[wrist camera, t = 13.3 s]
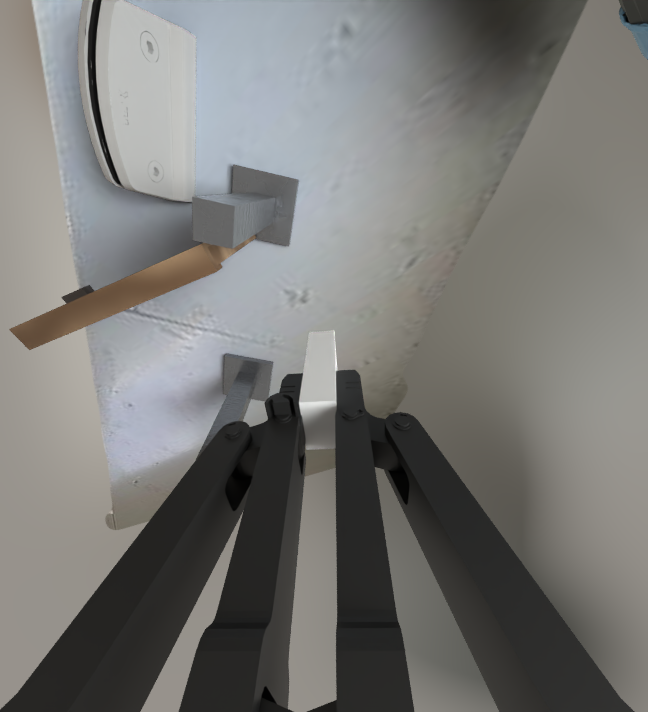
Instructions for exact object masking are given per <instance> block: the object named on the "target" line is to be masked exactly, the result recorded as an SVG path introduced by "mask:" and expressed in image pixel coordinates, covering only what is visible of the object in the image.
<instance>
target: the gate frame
mask: <svg viewBox="0 0 648 712" xmlns="http://www.w3.org/2000/svg"><path fill="white" fill-rule="evenodd" d="M298 183H299V180H297V179H292V178H288V177H284V176H280V175H275V174H271V173H267V172H263V171H259V170H254V169H250V168H246V167H242V166H237V165H233V182H232V194H220V195H206V196H192V224H193V241H198V242H202V243H207V244H212V245H217V246H221V247H226V248H231V249H233V248H235V247H236V246H238V245H239V244H241V243H242V242H244V241H246V240H247V239H249V238H250V237H252V236H253V235H255V236H256V238H255V239H257V240H262V241H267V242H271V243H276V244H281V245H285V246H289V245H290V240H291V233H292V226H293V218H294V211H295V204H296V197H297V190H298ZM272 368H273V362H271V361H266V360H260V359H254V358H249V357H243V356H238V355H232V354H226V355H225V362H224V384H223V394H225V395H227V397H226V399H225V401H224V403H223V405H222V407H221V409H220V411H219V413H218V415H217V417H216V419H215V421H214V424H213V426H212V428H211V430H210V432H209V434H208V436H207V438H206V440H205V442H204V444H203V446H202V448H201V450H200V452H199V454H198V456H197V458H198V457H199V456H200V455H201V453H202V452H203V451H204V449H205V448H206V447H207V445H208V444H209V443H210V442H211V440H212V439H213V438H214V436H215V435H216V434H217V432H218V431H219V430H220V429H221V428H222V427H223V426H225V425H226V424H228V423H231V422H234V421H242V422H243V419H244V416H245V414H246V411H247V408H248V406H249V403H250V400H251V399H255V400H261V401H266V400H267V399H268V397H269V390H270V382H271V375H272ZM197 458H196V460H197Z"/></svg>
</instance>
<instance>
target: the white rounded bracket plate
mask: <svg viewBox="0 0 648 712" xmlns="http://www.w3.org/2000/svg"><path fill="white" fill-rule="evenodd" d="M78 72H79V83H80V92H81V98H82V104H83V110H84V114H85V119H86V123H87V127H88V131H89V135H90V138H91V141H92V144H93V148H94V151H95V153H96V156H97V159H98V161H99V164H100V166H101V169H102V171H103V173H104V175H105V177H106V179H107V180H108V181H109V182H111V183H113V184H114V185H116V186H117V187H120V188H123V189H127V190H130V191H134V192H138V193H142V194H146V195H150V196H154V197H158V198H162V199H166V200H171V201H181V202H192V196H195V158H196V37H195V36H194V35H193V34H191V33H190V32H188V31H187V30H186V29H184V28H181V27H179V26H177V25H175V24H173V23H171V22H169V21H167V20H165V19H162V18H160V17H158V16H156V15H154V14H152V13H150V12H148V11H146V10H143V9H141V8H139V7H137V6H135V5H133V4H131V3H129V2H127V1H125V0H83V2H82V8H81V13H80V21H79V31H78Z"/></svg>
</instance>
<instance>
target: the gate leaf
mask: <svg viewBox="0 0 648 712" xmlns="http://www.w3.org/2000/svg"><path fill="white" fill-rule="evenodd" d="M255 238H256V236H255V235H253V236H252V237H250V238H249V239H247V240H246V241H244V242H242V243H241V244H239V245H238V246H236V247H235V248H233V249H231V248H226V247H221V246H217V245H212V244H207V243H202V244H200V245H198V246H196V247H193V248H191V249H189V250H187V251H184V252H182V253H180V254H177V255H175V256H173V257H171V258H168V259H166V260H164V261H162V262H159V263H157V264H155V265H153V266H150V267H148V268H146V269H144V270H141V271H139V272H137V273H135V274H132V275H130V276H128V277H126V278H123V279H121V280H119V281H117V282H114V283H112V284H110V285H108V286H105V287H103V288H101V289H99V290H96V291H94V290H93V289H92V287H91V286H90V285H88V286H86V287H83V288H81V289H79V290H77V291H74V292H73V293H70V294H68V295H65V296H63V297H62V299H63V300H64V301H65V302H66V303H67V304H65V305H63V306H61V307H58V308H56V309H54V310H51V311H49V312H47V313H45V314H42V315H40V316H38V317H36V318H34V319H31V320H29V321H27V322H25V323H23V324H20V325H18V326H16V327H13V328H11V329H10V331H11V332H12V333H13V334H14V335H15V336H16V337H17V338H18V339H19V340H20V341H21V342H22V343H23V344H24V345H25V346H26V347H27V348H28V349H29V350H31V349H33V348H36V347H38V346H40V345H43V344H45V343H48V342H50V341H52V340H55V339H57V338H59V337H62V336H64V335H67V334H69V333H71V332H74V331H76V330H78V329H81V328H83V327H86V326H88V325H91V324H93V323H95V322H98V321H100V320H102V319H105V318H107V317H110V316H112V315H114V314H117V313H119V312H122V311H124V310H126V309H129V308H131V307H134V306H136V305H138V304H141V303H143V302H145V301H148V300H150V299H153V298H155V297H157V296H160V295H162V294H165V293H167V292H169V291H172V290H174V289H177V288H179V287H181V286H184V285H186V284H188V283H191V282H193V281H196V280H198V279H200V278H203V277H205V276H208V275H210V274H212V273H215V272H217V271H218V270H220V269H221V268H222V265H221V264H220V263H221V262H222V261H224V260H225V259H227V258H228V257H230V256H231V255H232V254H234V253H235V252H237V251H238V250H239V249H241V248H242V247H244V246H245V245H247V244H248V243H249V242H251V241H252V240H254V239H255Z"/></svg>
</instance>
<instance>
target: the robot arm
mask: <svg viewBox="0 0 648 712" xmlns="http://www.w3.org/2000/svg"><path fill="white" fill-rule="evenodd" d="M619 2H620V5H621V8H620V10H619V15H620V19H621V22H622V24H623V25H624V26H626V27H627V28H628V29H629V30H630V31H632V34H633V36H634V38H635V40H636V42H637V44H638V46H639V49H640V51H641V53H642V54H643V56H644V57H645V58H646V59H647V60H648V0H619ZM265 407H266V412H267V416H268V421H266V422H264V423H262V424H259V425H256V426H252V427H249V425H248V424H247V423H245V422H242V421H234V422H231V423H228V424H226V425H225V426H223V427H222V428H221V429H220V430H219V431H218V432H217V434H216V435H215V436H214V438H213V439H212V440H211V442H210V443H209V444H208V445H207V447H206V448H205V449H204V451H203V452H202V453H201V455H200V456H199V457H198V458H197V460H196V461H195V462H194V464H193V465H192V466H191V468H190V469H189V470H188V472H187V473H186V474H185V475H184V477H183V478H182V479H181V481H180V482H179V483H178V485H177V486H176V487H175V488H174V490H173V491H172V492H171V494H170V495H169V496H168V498H167V499H166V500H165V501H164V503H163V504H162V505H161V507H160V508H159V509H158V511H157V512H156V513H155V514H154V516H153V517H152V518H151V520H150V521H149V522H148V524H147V525H146V526H145V528H144V529H143V530H142V531H141V533H140V534H139V535H138V537H137V538H136V539H135V541H134V542H133V543H132V544H131V546H130V547H129V548H128V550H127V551H126V552H125V554H124V555H123V556H122V558H121V559H120V560H119V561H118V563H117V564H116V565H115V567H114V568H113V569H112V570H111V572H110V573H109V575H108V576H107V577H106V578H105V580H104V581H103V582H102V584H101V585H100V586H99V587H98V589H97V590H96V591H95V593H94V594H93V595H92V597H91V598H90V599H89V600H88V602H87V603H86V604H85V606H84V607H83V608H82V610H81V611H80V612H79V614H78V615H77V616H76V618H75V619H74V620H73V621H72V623H71V624H70V625H69V627H68V628H67V629H66V630H65V632H64V633H63V634H62V636H61V637H60V638H59V640H58V641H57V642H56V643H55V645H54V646H53V647H52V649H51V650H50V651H49V653H48V654H47V655H46V657H45V658H44V659H43V660H42V662H41V663H40V664H39V666H38V667H37V668H36V669H35V671H34V672H33V673H32V675H31V676H30V677H29V679H28V680H27V681H26V683H25V684H24V685H23V686H22V688H21V689H20V690H19V692H18V693H17V694H16V695H15V696H14V697H13V698H12V699H11V700H10V701H9V702H8V703H7V704H6V705H5V706H4V707H3V708H1V710H0V712H140V711H141V709H142V707H143V705H144V703H145V701H146V699H147V697H148V696H149V694H150V692H151V690H152V688H153V686H154V684H155V682H156V680H157V678H158V676H159V674H160V672H161V670H162V668H163V666H164V664H165V662H166V660H167V658H168V657H169V655H170V653H171V651H172V648H173V647H174V645H175V643H176V641H177V639H178V637H179V635H180V633H181V631H182V629H183V627H184V625H185V623H186V621H187V619H188V617H189V615H190V613H191V612H192V610H193V608H194V606H195V604H196V602H197V600H198V598H199V596H200V594H201V592H202V590H203V588H204V586H205V584H206V582H207V580H208V578H209V577H210V575H211V573H212V571H213V569H214V567H215V565H216V563H217V561H218V559H219V557H220V555H221V553H222V551H223V549H224V547H225V545H226V543H227V541H228V539H229V538H230V535H231V533H232V532H233V530H234V528H235V526H236V524H237V522H238V520H239V518H240V516H241V514H242V512H243V515H242V519H241V523H240V527H239V530H238V534H237V538H236V542H235V545H234V549H233V553H232V557H231V560H230V564H229V568H228V572H227V576H226V579H225V583H224V587H223V591H222V595H221V599H220V602H219V606H218V610H217V613H216V616H215V619H214V621H213V623H212V624H211V625H210V626H209V627H207V628H206V629H205V631H204V633H203V635H202V637H201V639H200V642H199V644H198V648H197V650H196V653H195V657H194V661H193V664H192V667H191V671H190V674H189V678H188V681H187V685H186V688H185V692H184V695H183V699H182V702H181V706H180V709H179V712H293V711H291V710H288V695H289V669H288V658H289V644H290V634H291V622H292V610H293V600H294V589H295V577H296V566H297V555H298V544H299V543H298V542H299V531H300V521H301V509H302V498H303V487H304V476H305V464H306V457H305V444H306V450H312V449H335V450H336V529H337V530H336V534H337V535H336V537H337V629H336V678H337V680H336V683H337V700H335V701H333V702H330V703H328V704H325V705H323V706H321V707H318V708H315V709H313V710H310V711H308V712H414V707H413V700H412V694H411V687H410V681H409V674H408V668H407V662H406V655H405V649H404V643H403V637H402V633H401V628H400V625H399V623H398V620H397V614H396V608H395V601H394V594H393V588H392V580H391V574H390V567H389V561H388V554H387V547H386V540H385V533H384V526H383V520H382V513H381V506H380V500H379V493H378V487H377V480H376V473H375V467H377V468H381V469H384V471H385V473H386V476H387V478H388V480H389V482H390V484H391V486H392V488H393V490H394V492H395V494H396V496H397V498H398V501H399V503H400V505H401V507H402V509H403V511H404V513H405V515H406V517H407V519H408V522H409V523H410V526H411V528H412V530H413V532H414V534H415V536H416V538H417V540H418V542H419V544H420V546H421V549H422V551H423V553H424V555H425V557H426V559H427V561H428V563H429V565H430V567H431V569H432V571H433V574H434V576H435V578H436V580H437V582H438V584H439V586H440V588H441V590H442V592H443V594H444V597H445V599H446V601H447V603H448V605H449V607H450V609H451V611H452V613H453V615H454V618H455V620H456V622H457V624H458V626H459V628H460V630H461V632H462V634H463V636H464V639H465V641H466V643H467V645H468V647H469V649H470V651H471V653H472V655H473V657H474V659H475V662H476V664H477V666H478V668H479V670H480V672H481V674H482V676H483V678H484V680H485V682H486V685H487V687H488V689H489V691H490V693H491V695H492V697H493V699H494V701H495V703H496V705H497V708H498V710H499V712H634V711H633V710H632V709H631V708H630V707H629V706H628V705H627V704H626V703H625V702H624V701H623V700H622V699H621V698H620V697H619V696H618V694H617V693H616V691H615V690H614V689H613V687H612V686H611V684H610V683H609V682H608V680H607V679H606V678H605V676H604V675H603V674H602V672H601V671H600V670H599V668H598V667H597V665H596V664H595V663H594V661H593V660H592V658H591V657H590V656H589V654H588V653H587V652H586V650H585V649H584V648H583V646H582V645H581V643H580V642H579V641H578V639H577V638H576V637H575V635H574V634H573V632H572V631H571V630H570V628H569V627H568V626H567V624H566V623H565V621H564V620H563V619H562V617H561V616H560V615H559V613H558V612H557V610H556V609H555V608H554V606H553V605H552V604H551V603H550V601H549V600H548V598H547V597H546V595H545V594H544V593H543V591H542V590H541V589H540V587H539V586H538V584H537V583H536V582H535V580H534V579H533V578H532V576H531V575H530V574H529V572H528V571H527V569H526V568H525V567H524V565H523V564H522V562H521V561H520V560H519V558H518V557H517V556H516V554H515V553H514V552H513V550H512V549H511V547H510V546H509V545H508V543H507V542H506V541H505V539H504V538H503V537H502V535H501V534H500V532H499V531H498V530H497V528H496V527H495V525H494V524H493V523H492V521H491V520H490V519H489V517H488V516H487V514H486V513H485V512H484V511H483V509H482V508H481V506H480V505H479V504H478V502H477V501H476V499H475V498H474V497H473V495H472V494H471V493H470V491H469V490H468V489H467V487H466V486H465V484H464V483H463V482H462V481H461V479H460V477H459V476H458V475H457V473H456V472H455V471H454V469H453V468H452V467H451V465H450V464H449V463H448V461H447V460H446V458H445V457H444V456H443V454H442V453H441V451H440V450H439V449H438V447H437V446H436V445H435V443H434V442H433V440H432V439H431V438H430V436H429V435H428V434H427V432H426V431H425V430H424V428H423V427H422V425H421V424H420V423H419V421H418V420H417V419H416V418H415V417H414V416H412V415H410V414H408V413H401V412H400V413H393V414H391V415H389V416H388V417H387V418H386V419H381V418H377V417H374V416H372V415H370V414H369V413H368V412H367V411H366V409H365V407H364V400H363V393H362V387H361V380H360V375H359V374H358V373H357V371H356V370H341V371H337V360H336V346H335V332H334V330H332V331H317V332H309V337H308V344H307V351H306V358H305V364H304V371H303V373H301V374H287V376H286V377H285V378H284V379H283V380H282V383H281V388H280V392H279V393H277V394H274V395H272V396H270V397H269V398H268V399H267V400H266V402H265ZM243 510H244V511H243Z"/></svg>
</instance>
